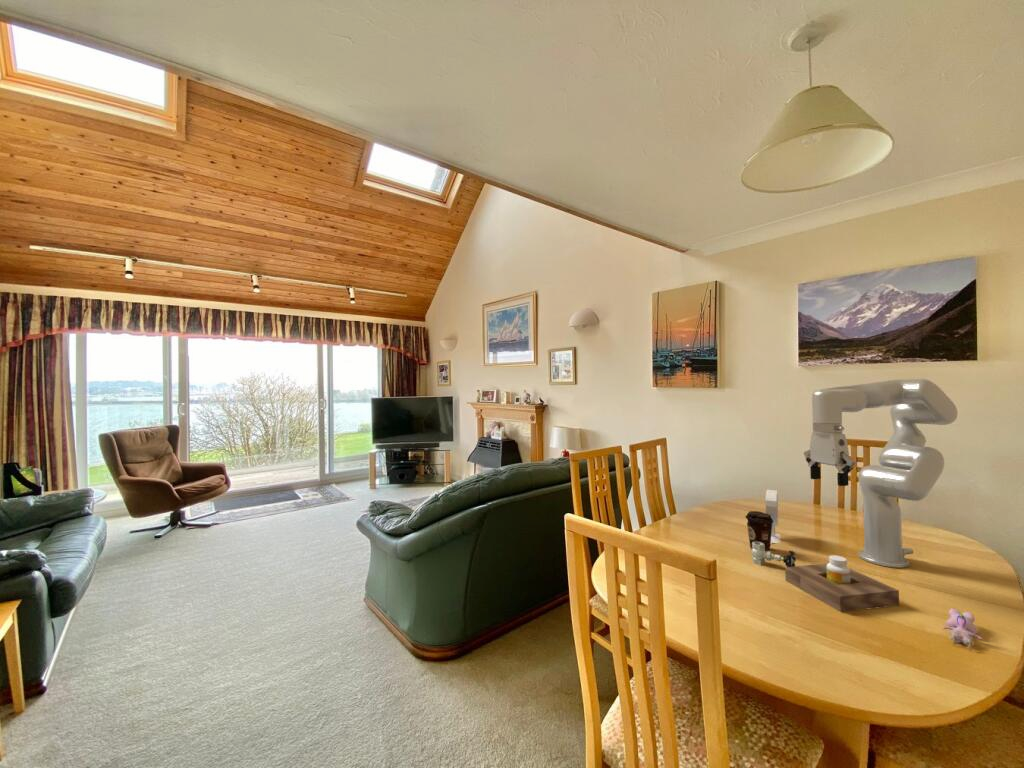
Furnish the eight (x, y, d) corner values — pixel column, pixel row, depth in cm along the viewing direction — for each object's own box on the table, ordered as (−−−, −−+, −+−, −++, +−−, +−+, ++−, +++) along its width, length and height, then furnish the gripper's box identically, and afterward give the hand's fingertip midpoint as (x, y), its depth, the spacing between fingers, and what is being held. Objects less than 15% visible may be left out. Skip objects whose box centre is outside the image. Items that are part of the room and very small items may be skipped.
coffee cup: (747, 552, 148) (746, 515, 148) (744, 543, 156) (743, 509, 156) (776, 555, 145) (775, 518, 145) (771, 546, 152) (770, 511, 153)
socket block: (837, 575, 129) (836, 562, 129) (899, 605, 111) (898, 590, 111) (785, 580, 126) (785, 567, 126) (840, 611, 108) (839, 596, 108)
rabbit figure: (983, 660, 90) (980, 622, 101) (982, 635, 90) (980, 599, 100) (942, 647, 95) (943, 612, 105) (941, 623, 94) (942, 590, 105)
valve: (748, 564, 138) (790, 575, 130) (748, 544, 138) (790, 554, 130) (755, 558, 143) (796, 568, 134) (754, 539, 143) (795, 548, 134)
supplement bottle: (822, 588, 121) (821, 554, 121) (839, 587, 121) (838, 553, 122) (838, 597, 116) (837, 562, 116) (856, 596, 116) (855, 561, 116)
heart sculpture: (780, 545, 153) (778, 497, 153) (764, 543, 156) (763, 495, 156) (780, 533, 166) (779, 488, 166) (766, 531, 169) (764, 487, 169)
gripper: (864, 430, 124) (865, 487, 124) (814, 426, 141) (815, 476, 141) (842, 431, 123) (843, 489, 123) (794, 426, 140) (796, 477, 140)
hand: (828, 482), depth 132 cm, fingers open, 9 cm apart
